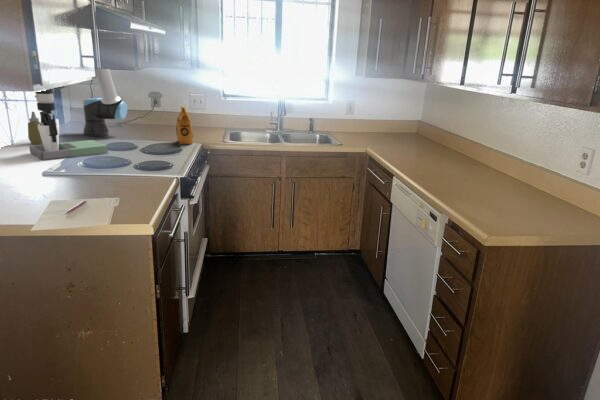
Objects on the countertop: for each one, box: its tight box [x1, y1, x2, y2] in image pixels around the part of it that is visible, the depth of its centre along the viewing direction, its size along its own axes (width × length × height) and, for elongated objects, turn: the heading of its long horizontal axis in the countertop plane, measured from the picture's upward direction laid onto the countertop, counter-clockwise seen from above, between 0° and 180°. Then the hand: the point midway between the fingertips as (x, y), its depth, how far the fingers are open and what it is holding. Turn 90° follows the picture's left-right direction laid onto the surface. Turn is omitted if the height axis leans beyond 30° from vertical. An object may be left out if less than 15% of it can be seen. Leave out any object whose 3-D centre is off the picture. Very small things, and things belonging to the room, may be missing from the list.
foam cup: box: [38, 122, 60, 151], centre depth 217 cm, size 10×9×13 cm
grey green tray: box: [28, 139, 109, 161], centre depth 226 cm, size 32×19×4 cm, turn 136°
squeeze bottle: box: [27, 111, 43, 145], centre depth 241 cm, size 8×8×18 cm
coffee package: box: [175, 106, 194, 145], centre depth 265 cm, size 10×12×22 cm
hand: (51, 146), depth 219 cm, fingers closed on foam cup, 9 cm apart
